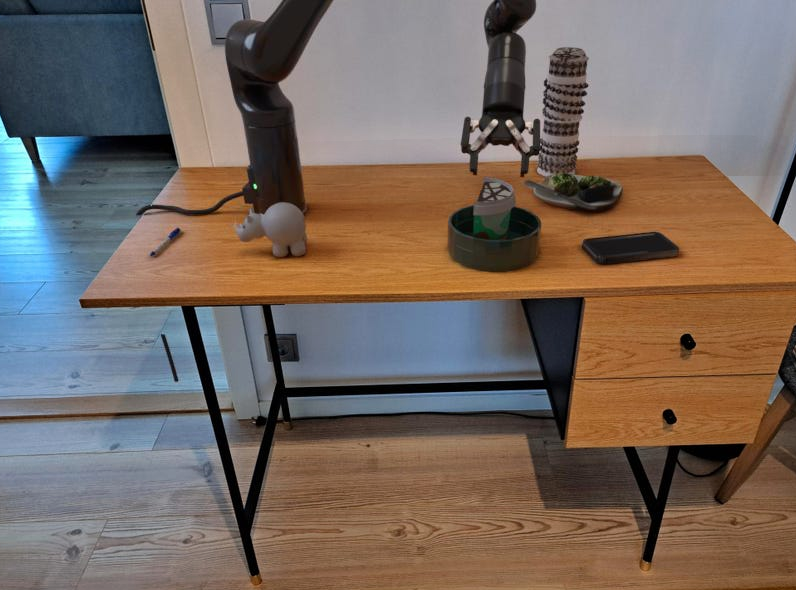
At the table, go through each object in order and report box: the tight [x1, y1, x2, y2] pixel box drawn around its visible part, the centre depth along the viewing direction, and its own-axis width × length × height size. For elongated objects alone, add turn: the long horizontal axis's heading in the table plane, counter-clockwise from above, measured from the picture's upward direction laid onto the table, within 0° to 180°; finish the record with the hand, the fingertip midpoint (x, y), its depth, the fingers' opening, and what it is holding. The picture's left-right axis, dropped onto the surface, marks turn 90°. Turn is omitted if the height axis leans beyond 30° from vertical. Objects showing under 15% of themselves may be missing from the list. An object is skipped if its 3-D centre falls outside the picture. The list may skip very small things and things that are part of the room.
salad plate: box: [523, 172, 624, 213], centre depth 130 cm, size 19×18×5 cm
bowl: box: [447, 204, 542, 273], centre depth 109 cm, size 16×16×6 cm
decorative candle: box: [536, 46, 590, 178], centre depth 136 cm, size 9×9×25 cm
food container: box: [473, 176, 517, 240], centre depth 108 cm, size 12×6×10 cm, turn 169°
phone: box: [581, 231, 680, 265], centre depth 110 cm, size 8×1×15 cm
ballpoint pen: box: [149, 227, 181, 257], centre depth 113 cm, size 10×1×1 cm, turn 173°
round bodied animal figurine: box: [233, 203, 308, 258], centre depth 109 cm, size 7×12×8 cm, turn 93°
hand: (498, 174), depth 115 cm, fingers open, 8 cm apart
